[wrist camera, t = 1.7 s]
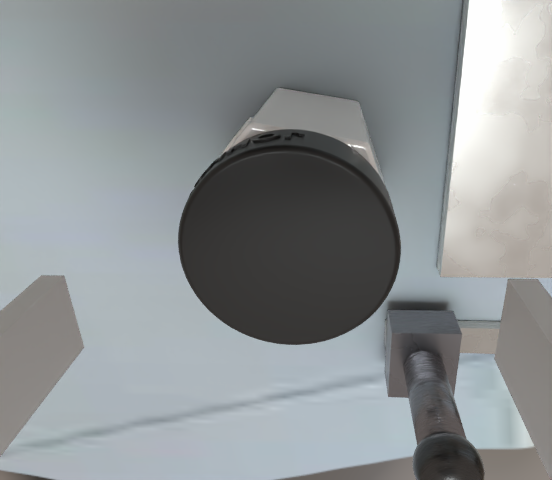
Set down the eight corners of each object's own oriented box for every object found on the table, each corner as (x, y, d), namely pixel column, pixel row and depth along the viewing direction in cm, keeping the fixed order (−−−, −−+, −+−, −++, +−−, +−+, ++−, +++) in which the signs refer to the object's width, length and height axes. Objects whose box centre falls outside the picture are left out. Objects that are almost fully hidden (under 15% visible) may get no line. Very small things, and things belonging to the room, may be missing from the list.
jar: (300, 50, 25) (272, 80, 14) (411, 147, 27) (462, 239, 16) (206, 174, 29) (129, 270, 18) (309, 253, 30) (294, 385, 20)
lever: (387, 309, 30) (412, 456, 20) (452, 310, 30) (511, 461, 20) (384, 371, 32) (405, 530, 22) (445, 373, 32) (494, 537, 22)
